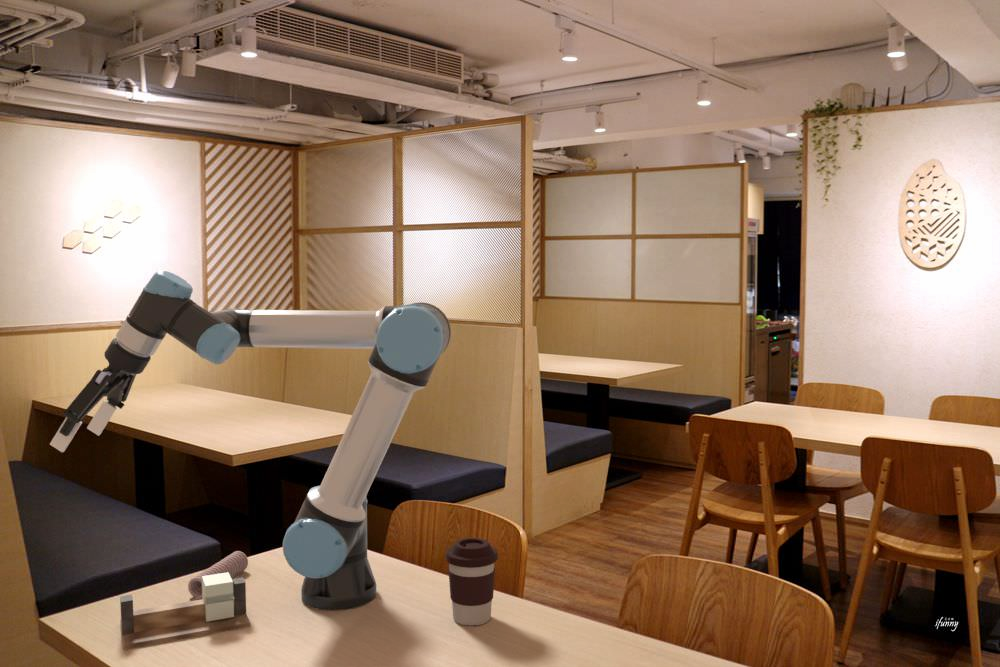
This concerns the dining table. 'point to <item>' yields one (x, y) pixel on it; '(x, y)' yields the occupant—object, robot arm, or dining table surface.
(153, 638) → the track
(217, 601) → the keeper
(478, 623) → the coffee cup
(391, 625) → the dining table surface
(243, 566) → the coil
